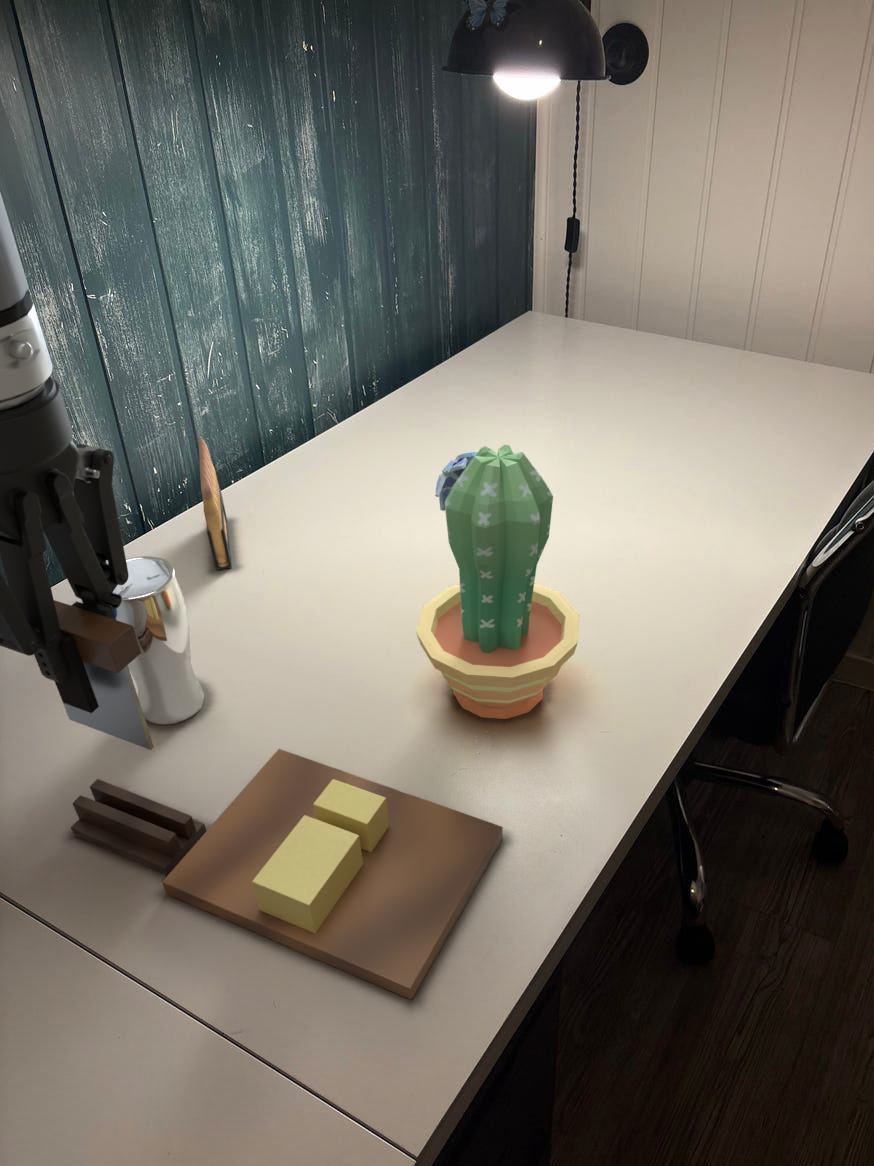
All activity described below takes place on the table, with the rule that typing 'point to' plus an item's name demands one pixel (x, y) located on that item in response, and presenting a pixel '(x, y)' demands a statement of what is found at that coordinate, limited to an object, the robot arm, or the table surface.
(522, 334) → the table surface
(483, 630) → the potted cactus
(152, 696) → the beer glass
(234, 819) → the board
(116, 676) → the cleaver
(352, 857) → the butter
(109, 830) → the knife holder
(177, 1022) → the table surface
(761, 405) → the table surface
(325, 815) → the butter pat
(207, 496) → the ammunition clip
